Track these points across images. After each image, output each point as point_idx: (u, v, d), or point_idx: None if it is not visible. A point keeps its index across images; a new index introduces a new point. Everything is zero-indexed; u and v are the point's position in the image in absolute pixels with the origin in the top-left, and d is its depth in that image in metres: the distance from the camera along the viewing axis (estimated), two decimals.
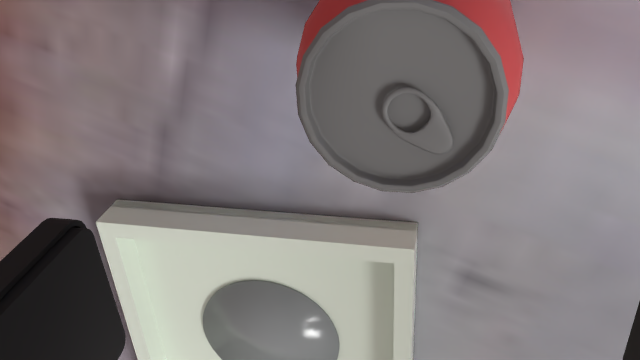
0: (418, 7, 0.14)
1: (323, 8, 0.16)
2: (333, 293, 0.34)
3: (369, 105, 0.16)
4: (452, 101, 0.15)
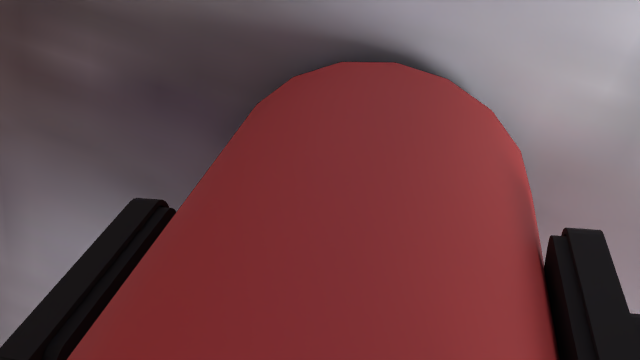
0: None
1: None
2: None
3: None
4: None
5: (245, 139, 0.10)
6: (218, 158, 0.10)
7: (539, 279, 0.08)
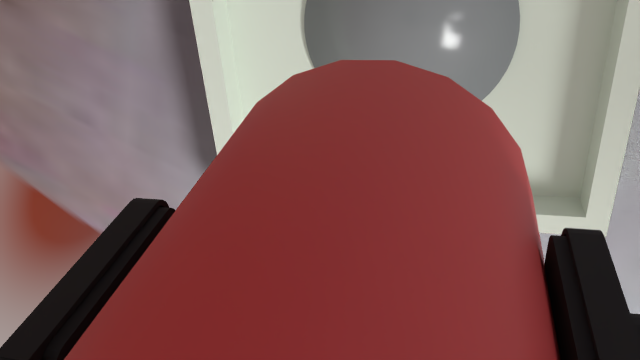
0: None
1: None
2: None
3: None
4: None
5: (245, 137, 0.10)
6: (218, 156, 0.10)
7: (539, 277, 0.08)
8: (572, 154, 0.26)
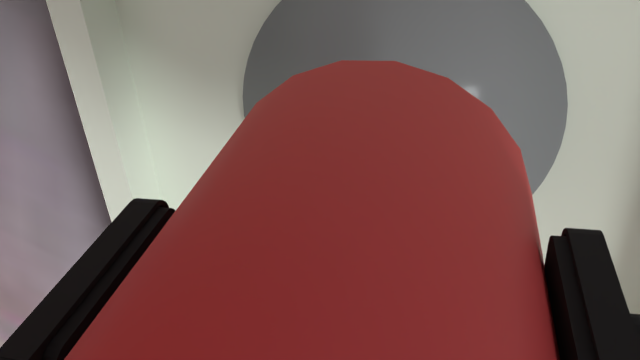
0: None
1: None
2: None
3: None
4: None
5: (244, 137, 0.10)
6: (217, 156, 0.10)
7: (539, 277, 0.08)
8: (635, 295, 0.18)
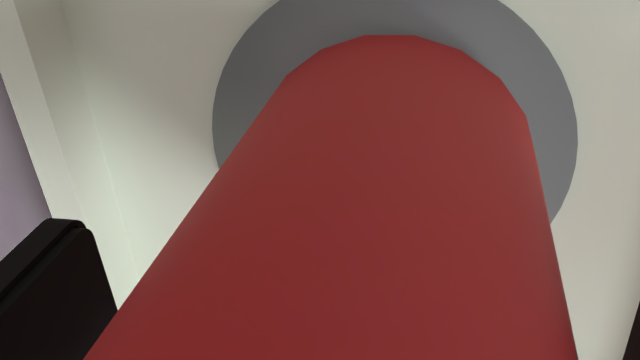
0: None
1: None
2: None
3: None
4: None
5: (283, 99, 0.11)
6: (257, 117, 0.11)
7: (544, 214, 0.09)
8: None
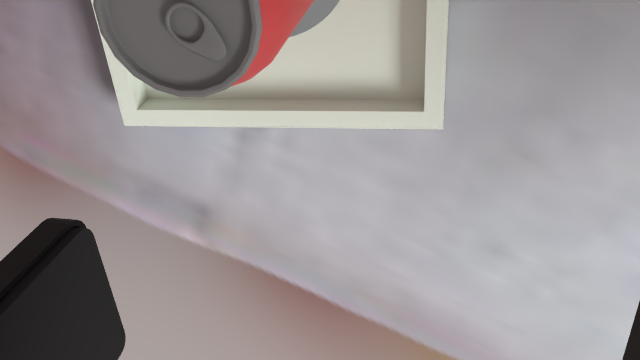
0: None
1: None
2: None
3: (157, 21, 0.19)
4: (220, 12, 0.18)
5: None
6: None
7: None
8: (413, 58, 0.30)
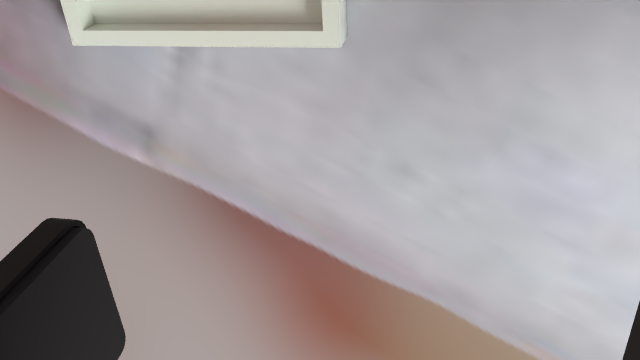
0: None
1: None
2: None
3: None
4: None
5: None
6: None
7: None
8: None
